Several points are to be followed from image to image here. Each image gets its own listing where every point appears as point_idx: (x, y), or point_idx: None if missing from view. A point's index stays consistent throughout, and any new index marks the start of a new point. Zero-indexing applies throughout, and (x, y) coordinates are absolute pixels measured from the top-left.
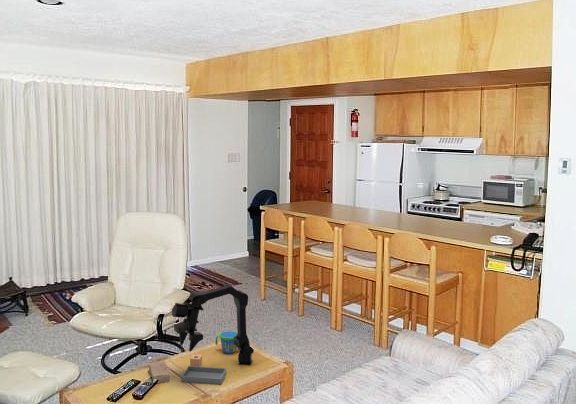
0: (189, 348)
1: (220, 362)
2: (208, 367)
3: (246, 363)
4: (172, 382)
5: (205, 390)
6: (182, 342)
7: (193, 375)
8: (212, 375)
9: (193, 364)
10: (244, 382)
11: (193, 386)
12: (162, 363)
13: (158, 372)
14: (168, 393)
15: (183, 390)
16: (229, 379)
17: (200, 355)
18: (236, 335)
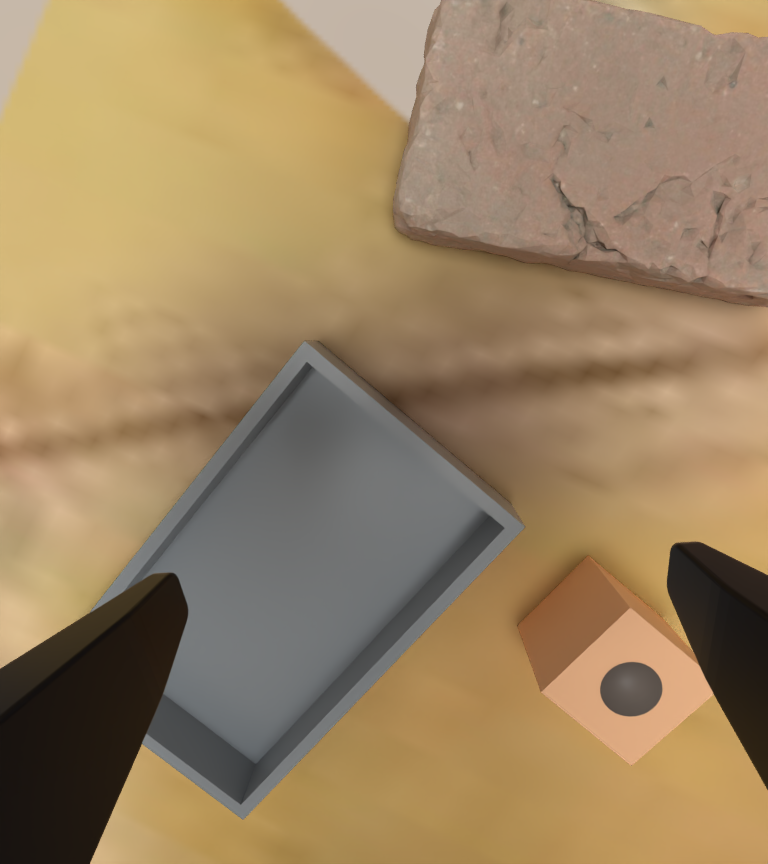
0: (107, 617)
1: (520, 838)
2: (360, 690)
3: None
4: (359, 255)
5: (44, 474)
6: (708, 637)
7: (369, 502)
8: (271, 654)
9: (573, 600)
10: None
11: (170, 411)
12: (759, 240)
13: (522, 89)
14: (141, 122)
15: (135, 289)
16: None
17: (643, 751)
18: None
